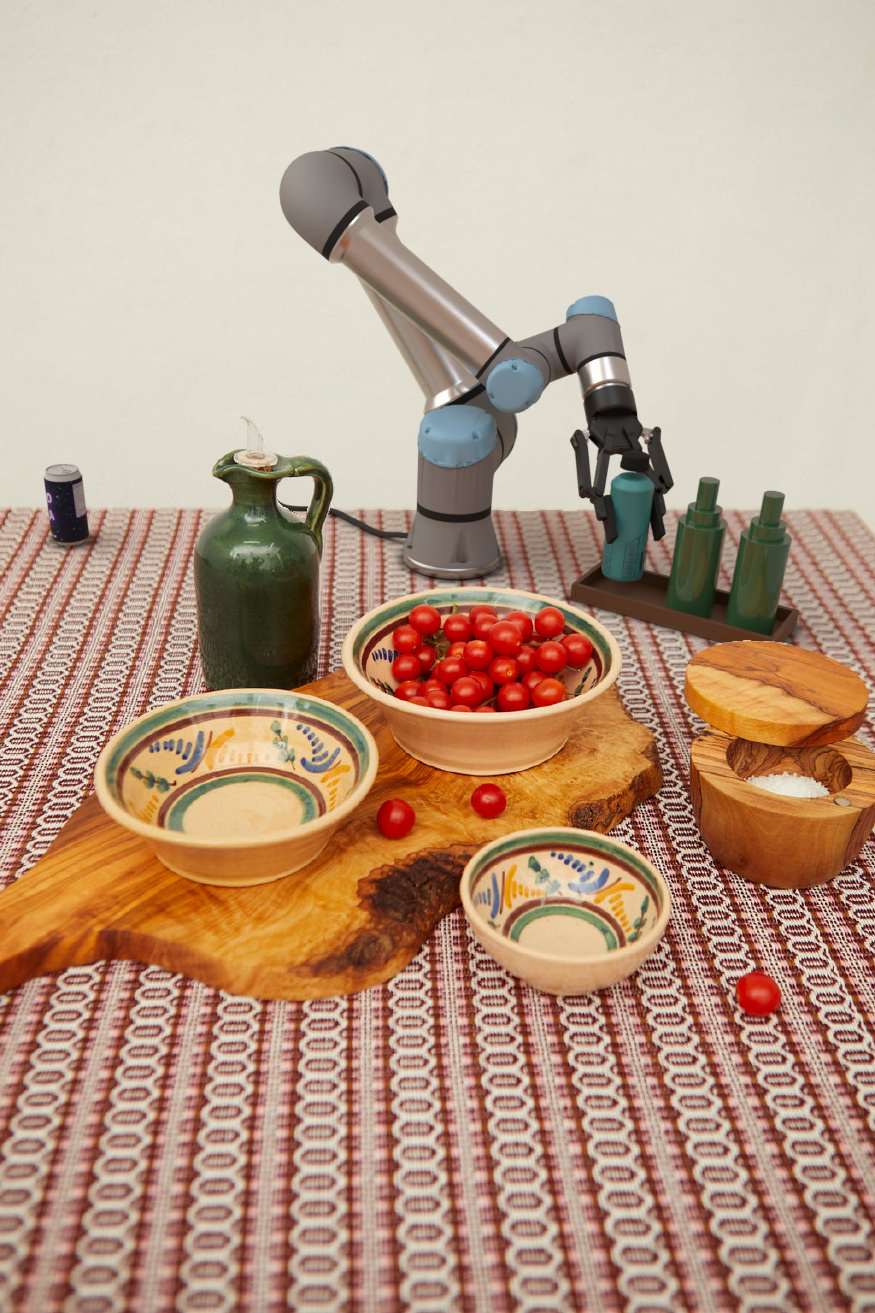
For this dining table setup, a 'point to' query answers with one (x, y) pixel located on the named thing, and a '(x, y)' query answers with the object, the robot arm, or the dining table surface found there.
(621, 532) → the beverage bottle
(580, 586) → the tray
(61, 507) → the beverage can
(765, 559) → the green bottle
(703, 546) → the green bottle
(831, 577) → the dining table surface
